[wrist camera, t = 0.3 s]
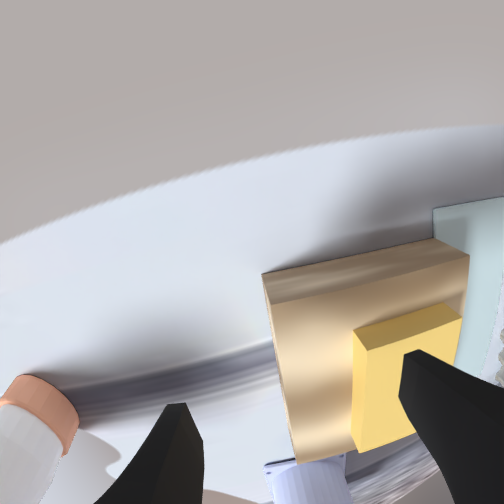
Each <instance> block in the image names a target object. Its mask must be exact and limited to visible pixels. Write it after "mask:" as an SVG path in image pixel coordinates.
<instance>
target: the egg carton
mask: <svg viewBox="0 0 504 504" xmlns="http://www.w3.org/2000/svg"><path fill="white" fill-rule="evenodd" d="M500 339H501V340H502V341H503V343H504V329H503V330H502V331H501V334H500ZM498 358H499V361H500V362H501V364H502V367H501V369H500V370H499V372H498V373H497V374H496V376H495V379H496V380H497V381H499V382H500V383H501V385H502V386H503V387H504V348H503V350H502V351H501V352H500V354H499V355H498Z"/></svg>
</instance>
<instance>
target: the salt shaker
mask: <svg viewBox="0 0 504 504" xmlns="http://www.w3.org/2000/svg"><path fill="white" fill-rule="evenodd" d="M79 423H80V422H79V417H78V413H77V412H76V410H75V408H74V406H73V405H72V404H71V402H70V401H69V400H68V399H67V398H66V397H65V395H63V394H62V393H61V392H60V391H59V390H57V389H56V388H55V387H54V386H52V385H50V384H49V383H47V382H46V381H44V380H42V379H40V378H37V377H34V376H31V375H21V376H18V377H16V378H15V380H14V381H13V382H12V384H11V385H10V386H9V388H8V389H7V391H6V392H5V393H4V395H3V396H2V397H1V399H0V504H39V502H40V501H41V499H42V497H43V496H44V494H45V493H46V491H47V490H48V488H49V486H50V485H51V483H52V481H53V478H54V475H55V472H56V469H57V466H58V464H59V461H60V458H61V457H62V456H64V455H66V454H67V453H68V450H69V448H70V445H71V443H72V441H73V438H74V436H75V433H76V431H77V429H78V426H79Z"/></svg>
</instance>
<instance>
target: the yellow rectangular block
mask: <svg viewBox="0 0 504 504" xmlns="http://www.w3.org/2000/svg"><path fill="white" fill-rule="evenodd" d="M462 318H463V317H462V316H460V315H459V314H458V313H456V312H455V311H454V310H453V309H451V308H450V307H449V306H447V305H446V304H445V303H444V302H442V303H439V304H436V305H433V306H430V307H427V308H424V309H421V310H418V311H415V312H412V313H409V314H406V315H403V316H399V317H396V318H393V319H390V320H386V321H383V322H380V323H376V324H373V325H369V326H365V327H362V328H358V329H355V330H353V386H352V414H351V432H350V433H351V435H352V438H353V440H354V442H355V445H356V447H357V450H358V452H359V453H362V452H365V451H368V450H371V449H374V448H377V447H380V446H383V445H385V444H388V443H391V442H393V441H396V440H399V439H401V438H404V437H406V436H408V435H411V434H413V433H416V430H415V429H414V427H413V426H412V424H411V422H410V421H409V419H408V417H407V415H406V413H405V411H404V409H403V407H402V404H401V402H400V400H399V398H398V394H399V387H400V380H401V373H402V365H403V357H404V354H406V353H409V352H412V351H414V350H417V349H420V350H422V351H424V352H427V353H429V354H431V355H432V356H434V357H436V358H438V359H440V360H442V361H444V362H446V363H448V364H450V365H452V366H453V363H454V359H455V354H456V350H457V345H458V340H459V335H460V330H461V324H462Z"/></svg>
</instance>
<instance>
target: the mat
mask: <svg viewBox="0 0 504 504" xmlns="http://www.w3.org/2000/svg"><path fill="white" fill-rule="evenodd" d="M433 238H435V239H438V240H440V241H442V242H444V243H446V244H448V245H450V246H452V247H454V248H456V249H458V250H460V251H462V252H464V253H466V254H469V255H470V264H469V275H468V285H467V293H466V301H465V308H464V315H463V321H462V327H461V332H460V337H459V342H458V347H457V352H456V356H455V361H454V365H453V366H454V367H456V368H458V369H460V370H462V371H464V372H466V373H468V374H470V375H472V376H474V377H476V376H478V375H480V374H481V373H482V370H483V366H484V363H485V360H486V356H487V353H488V349H489V345H490V341H491V337H492V333H493V329H494V324H495V320H496V315H497V310H498V305H499V299H500V294H501V287H502V281H503V274H504V197H498V198H492V199H486V200H481V201H475V202H469V203H463V204H458V205H452V206H446V207H441V208H435V209H433Z"/></svg>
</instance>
